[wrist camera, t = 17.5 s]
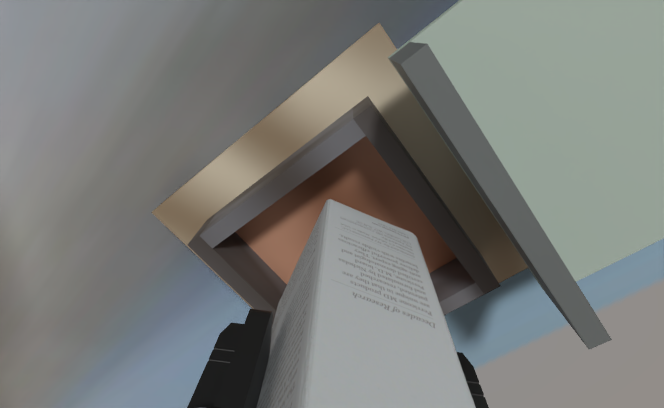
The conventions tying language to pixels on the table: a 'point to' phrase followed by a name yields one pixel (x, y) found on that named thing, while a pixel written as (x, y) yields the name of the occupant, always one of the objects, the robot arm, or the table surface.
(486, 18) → the cover
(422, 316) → the skincare box
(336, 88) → the socket board
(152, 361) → the table surface
